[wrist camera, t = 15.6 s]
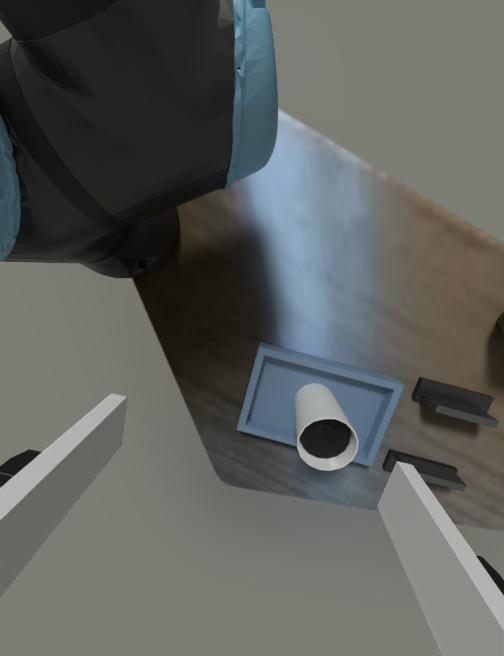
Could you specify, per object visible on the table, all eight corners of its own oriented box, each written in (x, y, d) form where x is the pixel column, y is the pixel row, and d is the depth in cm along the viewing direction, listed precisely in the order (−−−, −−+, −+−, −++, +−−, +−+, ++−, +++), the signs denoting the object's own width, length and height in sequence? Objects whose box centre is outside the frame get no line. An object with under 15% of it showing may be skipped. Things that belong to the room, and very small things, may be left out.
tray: (259, 341, 39) (259, 346, 37) (396, 377, 39) (404, 385, 36) (238, 420, 42) (236, 429, 39) (365, 455, 41) (371, 466, 39)
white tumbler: (310, 371, 39) (322, 405, 29) (347, 397, 39) (371, 440, 29) (281, 405, 40) (284, 448, 30) (317, 430, 41) (331, 481, 31)
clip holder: (419, 377, 38) (436, 389, 34) (489, 395, 38) (514, 409, 34) (382, 465, 42) (393, 485, 38) (446, 483, 41) (464, 505, 38)
